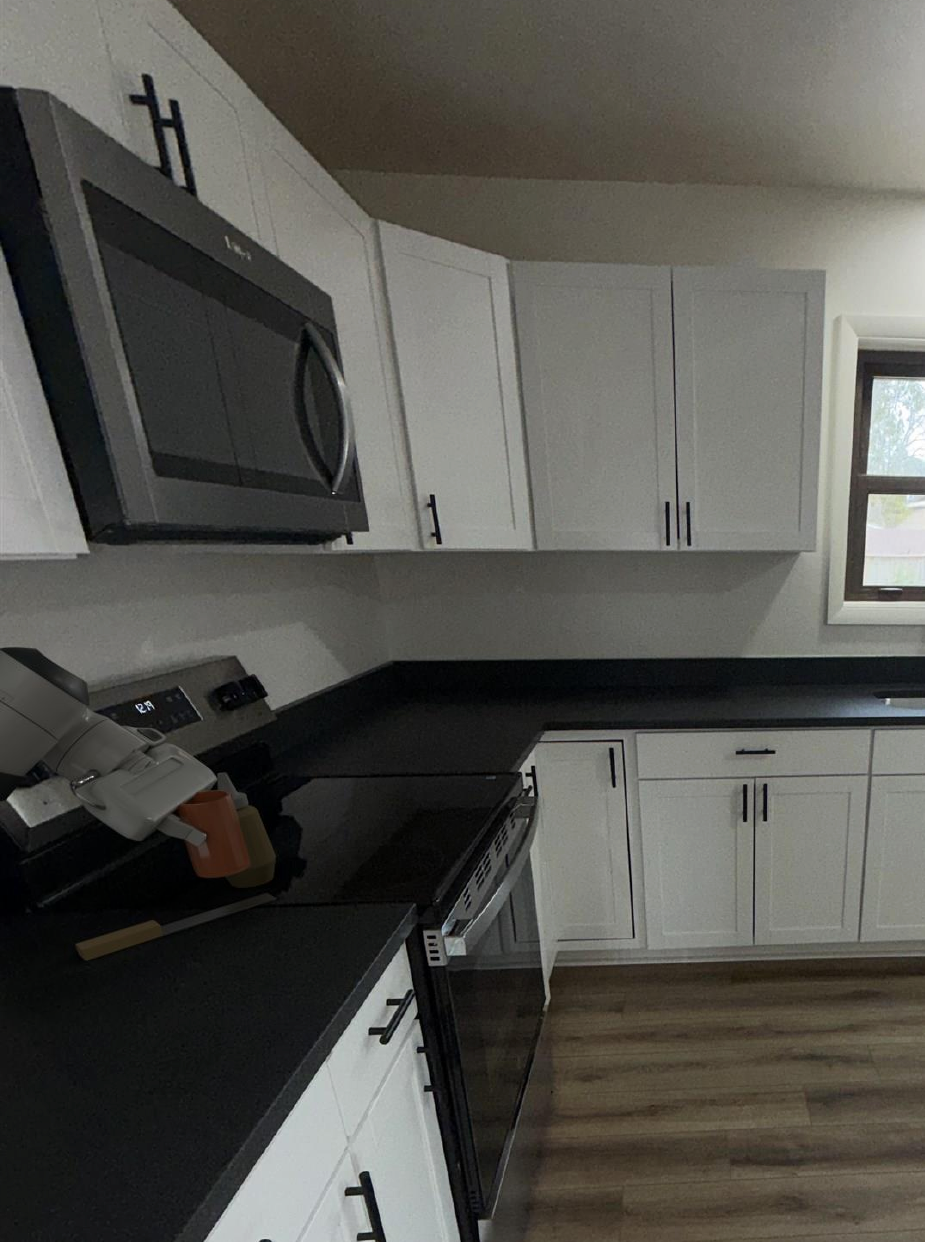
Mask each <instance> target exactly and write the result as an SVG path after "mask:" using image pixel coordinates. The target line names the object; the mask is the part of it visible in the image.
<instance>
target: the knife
mask: <svg viewBox="0 0 925 1242" xmlns="http://www.w3.org/2000/svg"><path fill="white" fill-rule="evenodd" d="M274 901H277V897H275V896H273V895H272V894H270V893H268V892H265V893H261V894H258V895H256V896H251V897H249V898H246V899H243V900H239V901H237V902H234V903H230V904H227V905H224V906H221V907H217V908H215V909H211V910H208V911H205V912H201V913H197V914H195V915H193V916H190V917H186V918H183V919H180V920H177V921H174V922H170V923H168V924H167V923H166V924H164V925H161V924H159V923H158V922H157V921H155V920H154V919H151V920H147V921H145V922H142V923H139V924H136V925H132V926H129V927H126V928H123V929H119V930H116V931H113V932H110V933H107V934H103V935H100V936H97V937H94V938H91V939H87V940H84V941H81V942H78V943H75V948H76V950H77V952H78V955H79V956H80V957H81V958H82V959H83V960H84V961H86V962H87V961H90V960H93V959H96V958H99V957H102V956H106V955H109V954H111V953H114V952H118V951H120V950H121V951H122V950H124V949H127V948H130V947H133V946H136V945H139V944H142V943H145V942H148V941H152V940H155V939H157V938H161V937H163V936H164V937H166V936H170V935H173V934H176V933H179V932H181V931H185V930H187V929H191V928H193V927H194V928H195V927H197V926H200V925H203V924H207V923H209V922H213V921H216V920H219V919H221V918H225V917H228V916H230V915H234V914H237V913H240V912H243V911H245V910H249V909H252V908H255V907H258V906H261V905H264V904H268V903H271V902H274Z"/></svg>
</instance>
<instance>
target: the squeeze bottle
mask: <svg viewBox="0 0 925 1242" xmlns="http://www.w3.org/2000/svg"><path fill="white" fill-rule="evenodd" d="M216 775H217V776H216V778H217V790H225V791H229V792H231V795H232V798H233V802H234V805H235V809H236V812H237V816H238V819H239V822H240V826H241V829H242V833H243V836H244V840H245V843H246V847H247V850H248V854H249V857H250V862H251V865H250V867H249V868H247V869H246V870H244V871H241V872H239V873H236V874H233V875H229V876H224V878H225V879H226V880H227V881H228V883H229V884H230V885H231V886H232V887H233V888H238V889H247V888H254V887H259V886H263V885H264V884H268V883H269V882H270V881H272V880H273V879H274V876H275V868H276V857H277V856H276V853H275V850H274V847H273V845H272V843H271V840H270V837H269V835H268V832H267V830H266V828H265V826H264V822H263V820H262V818H261V816H260V813H259V810H258V808H256V807H255V806H252V805H251V804H250V805H249V800H248V796H247V794H246V793H245V792H240V791H237V790H236V787H235V786H234V784H233V782H232V779H231V778H230V776H229V775H228V773H227V772H223V771H222V772H218V773H217V774H216Z"/></svg>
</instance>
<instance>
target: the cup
mask: <svg viewBox="0 0 925 1242" xmlns="http://www.w3.org/2000/svg"><path fill="white" fill-rule="evenodd" d="M175 813H176V816H177V817H178V818H180V820H179V821H181V822H183V823H185V824H188V825H190V826H193V827H196V826H199V827H200V828H202V829H203V830H205V831H207V832H208V833H209V834H210V835H209V837H208V838H207V840H206V841H205V842H204V843H203V844H202V845H200V846H195V845H193V844H192V843H190V842H188V841H187V840H185V839H183V840H184V843H185V846H186V849H187V853H188V856H189V858H190V862H191V865H192V869H193V871H194V873H195V875H196V876H197V877H199V878H203V879H216V878H225V876H229V875H233V874H236V873H239V872H241V871H244V870H246V869H247V868H249V867H250V865H251V862H250V857H249V854H248V850H247V847H246V843H245V840H244V836H243V833H242V829H241V826H240V822H239V819H238V816H237V812H236V809H235V805H234V802H233V798H232V795H231V792H229V791H225V790H218V789H210V790H208V791H200V792H196V796H195V797H194V798H192V799H191V800H189V801H188V802H187V803H185V804H179V808H178V809H177V810H175Z"/></svg>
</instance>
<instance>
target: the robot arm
mask: <svg viewBox="0 0 925 1242" xmlns="http://www.w3.org/2000/svg"><path fill="white" fill-rule="evenodd" d="M89 707H90V695H89V687H88V683H87V681H86V680H84V678H83V679H82V678H81V677H79V676H77V675H76V674H74V673H72V672H70V671H69V670H67V669H65V668H64V667H62V666H60V664H57V663H56V662H54V661H53V660H51V659H49V658H48V657H47V656H45V655H44V654H43V653H42V652H41V651H40V650H39V649H37V648H35V647H22V646H9V647H8V646H7V647H0V802H3V801H7V800H8V798H9V797H10V796H11V795H12V794H13V792H14V791H15V790H16V789H17V788H18V786H20V784H21V783H22V781H24V779H25V778H26V775H27V773H29V771H31V770H32V769H33V768H34V767H35V766H36V764H38V763H39V762H40V761H42V762H43V763H45V764H46V765H47V766H48V767H49V768H50V769H51V770H52V771H53V772H54V773H56V774H57V775H58V776H60V777H62V778H63V779H65V780H67V781H68V782H69V787H70V791H71V792H72V796H73V797H74V798H75V799H77V800H79V801H80V802H81V803H82V806H83V807H84V809H85V810H87V811H88V812H89V813H90V814H91V815H92V816H94V817H95V818H96V819H98V820H99V821H101V822H102V823H103V824H105V825H106V826H108V828H110V829H112V830H113V831H115V832H117V833H118V834H120V835H121V836H122V837H124V838H126V839H129V840H131V841H132V840H133V841H136V842H142V841H144V840H145V839H147V838H148V837H150V836H151V835H152V834H153V833H155V832H156V831H159V832H161V833H163V834H164V835H166V836H168V837H173V838H177V839H179V840H184V839H185V840H187V841H188V842H190V843H192V844H193V845H195V846H200V845H202V844H203V843H204V842H205V841H206V840H207V838H208V837H209V835H210V834H209V833H208V832H207V831H205V830H203V829H202V828H200V827H199V826H196V827H193V826H190V825H188V824H185V823H183V822H181V821H179V820H180V818H178V817H177V816H176V813H175V810H177V809H178V808H179V804H185V803H187V802H188V801H189V800H191V799H192V798H194V797H195V796H196V792H200V791H208V790H212V788H213V787H214V785H216V783H217V782H218V780H217V776H216V774H215V773H214V772H213V771H212V770H211V769H210V768H209V767H208V766H206V765H205V764H204V763H202V762H201V761H199V760H198V759H197V758H195V757H194V756H192V755H191V754H189V753H188V752H186V751H185V750H183V749H182V748H180V747H179V746H176V745H175V744H173V743H168V742H165V741H166V740H167V736H166V735H165V734H163V733H162V732H161V731H159V730H157V729H156V728H153V727H133V726H128V725H121V724H118V723H117V722H115V721H114V720H112V719H111V718H109V717H107V716H105V715H103V714H100V713H97V712H95V711H93V710H92V709H90V708H89ZM185 840H184V841H185Z"/></svg>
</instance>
